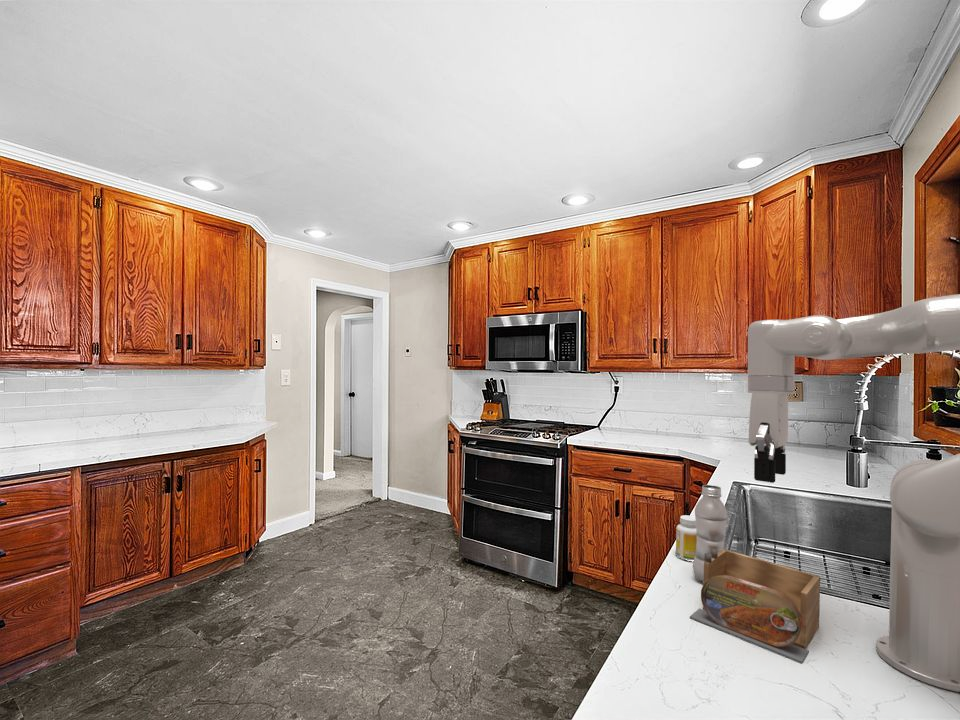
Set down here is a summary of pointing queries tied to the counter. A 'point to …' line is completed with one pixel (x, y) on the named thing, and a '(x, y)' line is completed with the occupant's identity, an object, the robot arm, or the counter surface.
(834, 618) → the counter surface
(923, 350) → the robot arm
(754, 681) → the counter surface
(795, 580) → the cabinet carcass
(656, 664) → the counter surface
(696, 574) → the plastic bottle
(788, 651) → the flat grey bar
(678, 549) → the supplement bottle
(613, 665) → the counter surface
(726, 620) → the tin
